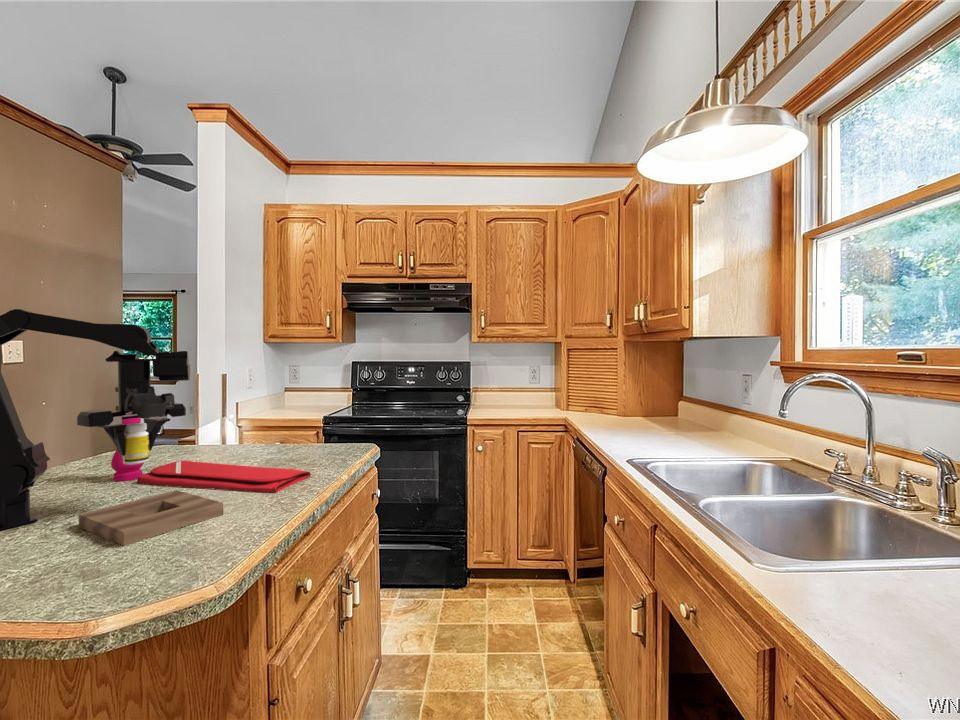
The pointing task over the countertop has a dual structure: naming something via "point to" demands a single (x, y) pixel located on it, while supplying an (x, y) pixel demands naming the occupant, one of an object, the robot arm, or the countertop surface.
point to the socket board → (149, 516)
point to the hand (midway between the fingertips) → (136, 453)
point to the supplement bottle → (136, 444)
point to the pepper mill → (124, 470)
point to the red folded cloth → (223, 476)
